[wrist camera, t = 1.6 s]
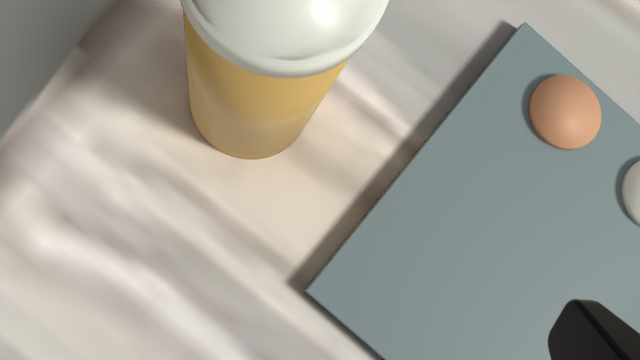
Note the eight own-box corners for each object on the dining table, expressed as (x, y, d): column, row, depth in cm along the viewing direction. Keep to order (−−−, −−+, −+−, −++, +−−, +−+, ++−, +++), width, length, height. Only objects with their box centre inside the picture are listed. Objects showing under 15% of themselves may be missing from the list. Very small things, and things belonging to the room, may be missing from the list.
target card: (552, 504, 22) (566, 514, 21) (304, 290, 21) (308, 291, 20) (727, 216, 25) (746, 213, 24) (517, 27, 25) (529, 18, 24)
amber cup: (256, 187, 22) (300, 110, 12) (159, 104, 21) (124, -43, 12) (335, 99, 23) (433, -37, 13) (244, 19, 23) (275, -179, 13)
